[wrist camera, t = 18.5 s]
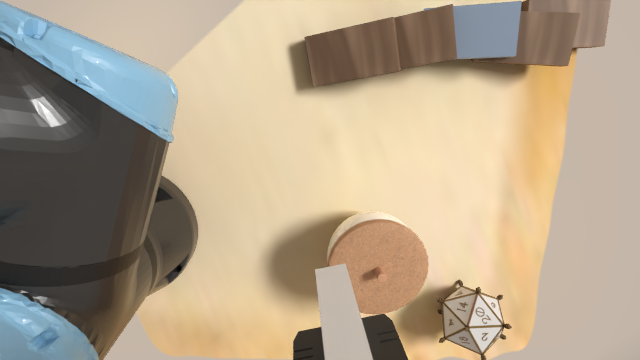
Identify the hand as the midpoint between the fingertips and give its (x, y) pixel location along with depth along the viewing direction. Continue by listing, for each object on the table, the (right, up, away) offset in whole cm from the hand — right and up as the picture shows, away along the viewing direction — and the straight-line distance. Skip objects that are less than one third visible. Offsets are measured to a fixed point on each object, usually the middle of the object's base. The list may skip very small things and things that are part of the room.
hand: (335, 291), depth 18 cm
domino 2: (+4, +19, +22) cm, 29 cm away
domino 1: (-2, +18, +22) cm, 28 cm away
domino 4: (+16, +21, +22) cm, 34 cm away
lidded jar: (+5, -2, +29) cm, 29 cm away
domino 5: (+21, +22, +23) cm, 38 cm away
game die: (+18, -11, +32) cm, 38 cm away
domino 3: (+10, +21, +22) cm, 32 cm away
